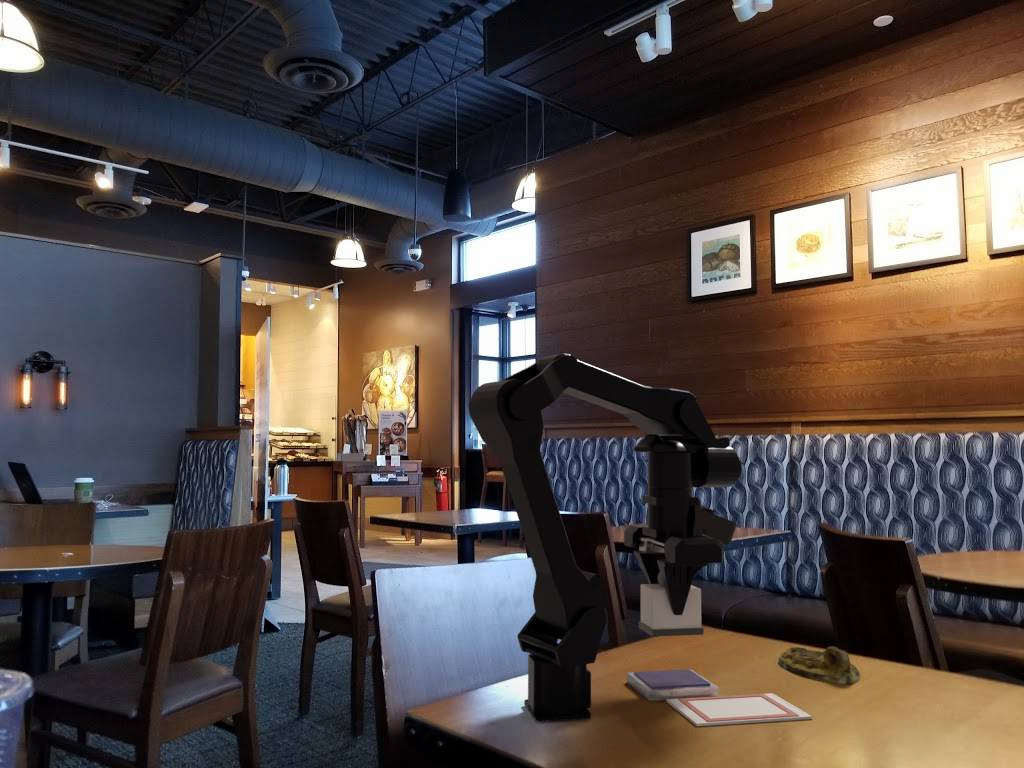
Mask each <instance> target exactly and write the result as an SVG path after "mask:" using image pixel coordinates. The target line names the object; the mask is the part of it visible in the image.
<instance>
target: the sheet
mask: <svg viewBox="0 0 1024 768" xmlns="http://www.w3.org/2000/svg"><path fill="white" fill-rule="evenodd" d="M665 702H666V703H667V704H668V705H670V706H671V707H673V709H674V710H676V712H678V713H680V714H681V716H684V717H685V719H687V720H688V721H689V722H690V723H692V724H693V725H695V726H696V727H709V726H710V727H711V726H725V725H727V726H728V725H741V724H753V723H755V724H756V723H770V722H771V723H772V722H787V721H801V720H802V721H803V720H812V719H813V716H812V715H810V714H808V713H807V712H805V711H804V710H801V709H800V708H798V707H797V706H795V705H793V704H792V703H789V702H788V701H786V700H785V699H783V698H781V697H779V696H778V695H777V694H775V693H773V692H772V693H771V692H769V693H756V694H751V693H750V694H734V695H719V696H715V697H697V698H680V699H666V700H665Z"/></svg>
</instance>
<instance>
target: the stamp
mask: <svg viewBox="0 0 1024 768" xmlns="http://www.w3.org/2000/svg"><path fill="white" fill-rule="evenodd" d="M658 582H659V584H649V583H641V584H640V621H638V629H639V630H641V631H643V632H644V633H646V634H647V635H649V636H651V637H674V636H676V637H677V636H678V637H679V636H700V635H701V636H703V635H704V630H705V629H704V627H703V626H702V589H701V588H700V587H698V586H694V585H693V584H692V585H691V588H690V591H689V594H688V598H687V601H686V604H685V608H684V611H683V614H682V615H674V614H673V612H672V609H671V606H670V603H669V600H668V596H667V593H666V589H665V586H664V583H663V579H662V576H661V573H660V572H659V574H658Z"/></svg>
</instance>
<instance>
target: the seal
mask: <svg viewBox="0 0 1024 768" xmlns="http://www.w3.org/2000/svg"><path fill="white" fill-rule="evenodd" d="M849 656H850V655H849V653H848V652H847V651H846V650H843V649H839V648H838V647H837V646H831V645H830V646H828V647H826V648H825V650H823V651H817V650H812V649H811V650H810V649H807V648H806V647H805V648H804V647H799V646H798V647H795V646H793V647H789V648H788V649H787V650H785V651H784V652H782V653H781V654H780V655H779V657H778V664H779V665H780V666H781V667H782V668H783V669H785V670H787V671H788V672H791V673H792V674H793V673H794V674H795V675H799V676H802V677H805V678H807V679H812V680H816V681H821V682H826V683H831V684H832V683H833V684H840V685H853V684H855V683H857V682H859V681H860V679H861V674H860V671H859V670H858V668H857V667H856V666H855V665H854V664H852V663H851V661H850V660H851V659H850V657H849Z"/></svg>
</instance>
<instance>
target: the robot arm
mask: <svg viewBox="0 0 1024 768" xmlns="http://www.w3.org/2000/svg"><path fill="white" fill-rule="evenodd" d="M562 394H565V395H569V396H572V397H574V398H577V399H579V400H582V401H585V402H587V403H590V404H594V405H597V406H599V407H603V408H605V409H608V410H610V411H613V412H615V413H618V414H620V415H623V416H624V417H625V418H628V420H629V421H630V422H631V424H632V425H634V427H637V428H638V429H639V430H641V431H643V432H644V433H646V434H645V436H644V438H643V439H642V440H641V441H640V442H638V443H637V444H636V445H635V446H634V447H633V451H634V452H635V453H647V494H642V496H641V497H642V498H641V499H642V502H641V503H643V504H647V524H630V525H629V526H628V527H627V528H626V530H624V532H623V533H624V534H623V542H624V543H623V545H624V546H626V547H628V548H635V547H636V546H639V547H638V548H639V549H638V550H634V551H633V555H635V557H636V558H637V561H638V564H639V565H640V567H641V570H642V571H643V574H644V576H645V578H646V580H647V582H648V583H647V584H659V582H658V574H659V572H660V573H661V576H662V579H663V583H664V586H665V589H666V593H667V596H668V600H669V603H670V606H671V609H672V612H673V614H674V615H682V614H683V611H684V608H685V604H686V601H687V598H688V594H689V591H690V588H691V585H692V586H693V582H694V579H695V576H696V574H697V573H699V572H700V571H701V570H702V569H703V568H704V567H708V566H709V565H710V564H721V563H724V562H725V561H724V560H725V548H724V547H725V546H727V547H730V546H731V544H732V541H733V537H734V535H735V532H736V528H737V525H738V523H737V522H735V521H733V520H730V519H728V518H725V517H723V516H720V515H717V514H715V511H714V509H711V508H707V507H706V506H704V505H701V503H702V502H701V499H699V497H698V496H693V488H697V489H699V488H728V487H733V486H734V485H736V483H737V482H738V480H739V478H741V473H742V467H743V466H742V461H741V460H740V456H739V455H738V452H736V450H735V448H733V447H731V446H730V438H729V437H725V436H722V437H719V436H717V437H716V435H715V433H714V431H713V430H712V427H711V426H710V424H709V422H708V420H707V419H706V417H705V415H704V413H703V411H702V410H701V407H700V406H699V403H698V398H697V397H696V395H695V394H694V393H692V392H690V391H688V390H682V389H677V388H676V389H675V388H671V387H670V388H669V387H659V386H658V387H657V386H649V385H644V384H640V383H638V382H635V381H632V380H630V379H628V378H625V377H623V376H620V375H617V374H615V373H613V372H610V371H607V370H605V369H602V368H599V367H597V366H594V365H592V364H589V363H586V362H584V361H581V360H579V359H577V358H576V357H574V356H573V355H571V354H569V353H559V354H552V355H546V356H542V357H541V358H540V359H538V360H537V361H536V362H534V363H533V364H531V365H529V366H527V367H526V368H524V369H522V370H519V371H518V372H515V373H513V374H512V375H509V376H507V377H506V378H503V379H501V380H500V381H498V380H497V381H492V382H491V381H490V382H485V383H482V384H481V385H480V386H477V388H476V389H474V391H473V392H472V395H471V397H470V400H469V401H468V412H469V417H470V419H471V421H472V423H473V424H474V426H475V429H476V430H477V433H478V435H479V436H480V439H481V440H482V442H483V443H484V444H485V445H486V446H487V448H488V449H489V450H490V451H491V453H493V454H494V455H493V456H495V457H496V458H497V460H498V461H499V463H500V466H501V469H502V471H503V474H504V477H505V481H506V484H507V488H508V490H509V493H510V497H511V499H512V503H513V505H514V508H515V512H516V515H517V517H518V522H519V525H520V528H521V531H522V534H523V538H524V540H525V542H526V547H527V548H528V549H527V550H528V553H529V555H530V559H531V562H532V565H533V567H534V571H535V581H534V582H535V583H534V586H533V587H534V588H533V594H532V600H533V605H534V613H533V614H532V616H531V617H530V618H529V619H528V621H526V623H525V625H524V626H523V627H522V628H521V629H520V631H519V632H518V634H517V640H518V644H519V648H520V650H521V651H522V652H523V653H527V654H528V659H527V660H528V661H527V662H528V663H527V668H528V669H527V671H528V672H527V673H528V674H527V676H528V677H527V688H528V689H527V699H525V700H524V701H523V703H524V706H525V707H526V709H527V711H528V712H529V713H530V715H531V717H532V718H533V719H534V721H536V722H553V721H570V720H585V719H587V720H589V719H591V718H592V712H591V711H590V710H589V709H590V708H591V707H592V672H591V671H590V670H589V669H588V667H587V665H591V664H594V663H595V662H596V658H597V655H598V652H599V647H600V645H601V641H602V637H603V634H604V631H605V628H606V627H607V625H608V619H609V618H608V613H607V609H606V608H610V604H609V602H608V601H607V600H606V598H605V595H604V593H603V592H604V591H603V586H602V581H601V579H600V577H599V574H597V573H592V572H589V571H585V570H581V569H580V567H579V566H578V565H577V564H578V563H577V562H576V560H575V556H574V553H573V551H572V547H571V544H570V541H569V538H568V534H567V532H566V529H565V528H566V527H565V525H564V522H563V519H562V516H561V515H562V514H561V513H560V510H559V506H558V503H557V499H556V497H555V493H554V491H553V488H552V487H553V486H552V484H551V480H550V478H549V477H550V476H549V475H548V471H547V468H546V465H545V461H544V458H543V456H542V450H541V447H542V439H543V434H544V427H545V423H544V417H543V410H544V409H546V408H547V407H549V406H550V405H552V404H553V403H555V401H557V399H558V398H559V397H560V396H561V395H562ZM724 545H725V546H724ZM559 640H560V641H559ZM558 641H559V642H558Z"/></svg>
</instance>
